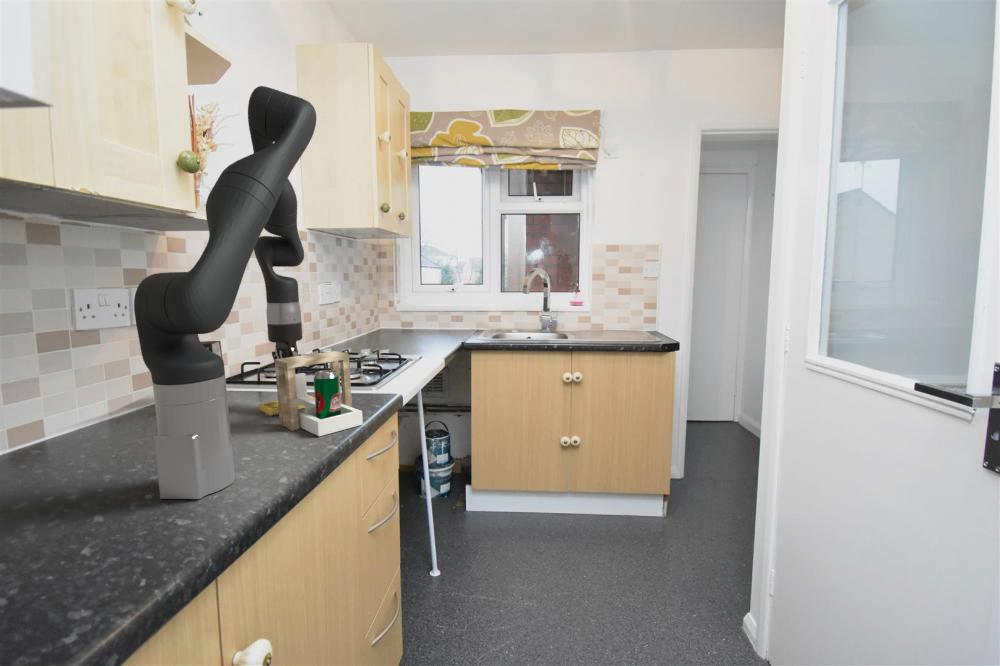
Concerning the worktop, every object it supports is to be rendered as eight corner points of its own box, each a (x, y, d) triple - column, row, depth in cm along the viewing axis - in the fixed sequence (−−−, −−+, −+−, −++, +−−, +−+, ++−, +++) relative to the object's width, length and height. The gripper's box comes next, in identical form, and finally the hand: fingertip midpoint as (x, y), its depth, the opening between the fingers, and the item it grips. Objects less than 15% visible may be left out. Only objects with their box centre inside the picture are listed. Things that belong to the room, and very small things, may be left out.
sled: (318, 436, 94) (315, 393, 93) (276, 415, 109) (273, 378, 107) (362, 424, 101) (360, 384, 100) (317, 406, 116) (314, 371, 115)
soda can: (336, 429, 98) (332, 374, 97) (312, 429, 98) (309, 374, 97) (345, 422, 103) (341, 369, 102) (323, 422, 103) (319, 369, 102)
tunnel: (292, 431, 98) (287, 362, 96) (279, 424, 102) (274, 359, 100) (352, 415, 108) (348, 353, 106) (338, 410, 112) (335, 350, 110)
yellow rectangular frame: (270, 416, 108) (269, 409, 108) (259, 411, 113) (258, 404, 113) (320, 405, 117) (319, 399, 117) (307, 400, 122) (307, 394, 122)
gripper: (312, 321, 109) (316, 393, 112) (288, 317, 118) (293, 384, 121) (279, 324, 104) (285, 399, 106) (257, 320, 113) (262, 389, 115)
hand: (289, 391), depth 114 cm, fingers closed
